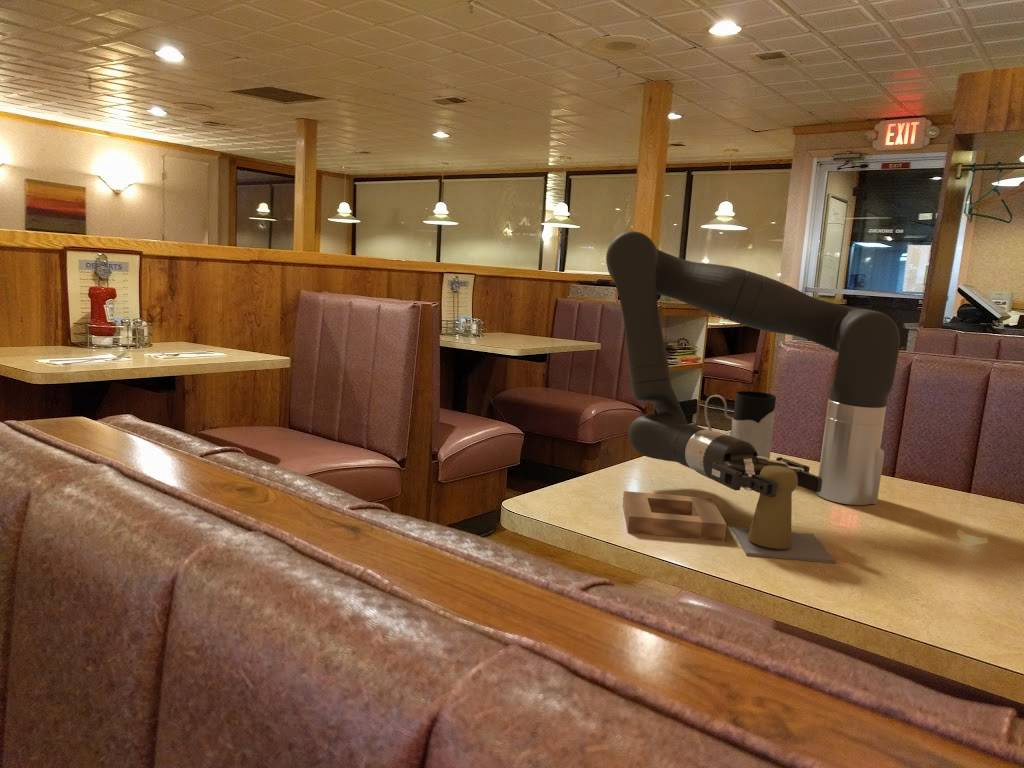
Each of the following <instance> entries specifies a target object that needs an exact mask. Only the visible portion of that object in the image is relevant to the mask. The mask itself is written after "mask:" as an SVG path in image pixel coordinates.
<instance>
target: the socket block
mask: <svg viewBox="0 0 1024 768" xmlns="http://www.w3.org/2000/svg"><path fill="white" fill-rule="evenodd" d="M622 510H623V516H624V519H625V520H624V521H625V525H626V526H625V527H626V530H627V533H632V534H644V535H656V536H664V537H665V536H666V537H678V538H691V539H700V538H701V540H711V539H712V540H713V541H722V540H724V541H723V542H725V541H726V532H727V523H726V521H725V519H724V517H723V515H722V514H721V512H720V511H719V510H720V509H719V508H718V507H717V504H716V502H715V501H714V500H713V498H712V497H711V498H709V497H701V496H687V495H677V494H664V493H663V494H662V493H653V492H652V493H651V492H639V491H630V490H629V491H627V490H624V491H623V498H622Z"/></svg>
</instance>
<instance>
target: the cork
mask: <svg viewBox="0 0 1024 768" xmlns="http://www.w3.org/2000/svg"><path fill="white" fill-rule="evenodd" d="M760 476H762V477H765V478H767V479H770V480H772V481H775V482H776V483H777V490H776V496H775V497H768V496H765V495H763V494H761V493H759V497H758V500H757V503H756V507H755V510H754V513H753V517H752V521H751V524H750V528H749V529H750V531H749V534H748V538H747V539H748V540H749V541H751V542H753V543H755V544H757V545H761V546H764V547H769V548H775V549H788V548H791V532H792V512H793V511H792V509H793V508H792V507H793V506H792V503H793V501H792V497H793V496H792V495H793V494H792V493H793V492H794V491H795V490H796V489H797V487H798V486H797V483H798V477H797V474H796V472H795V471H793V470H792V469H789V468H786V467H783V466H775V465H772V466H765V467H764V468H763V469H762V470H761V472H760Z"/></svg>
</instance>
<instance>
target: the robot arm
mask: <svg viewBox="0 0 1024 768" xmlns="http://www.w3.org/2000/svg"><path fill="white" fill-rule="evenodd" d="M605 256H606V257H605V260H606V261H605V264H606V267H607V271H608V274H609V275H610V277H611V279H612V280H613V282H614V285H615V287H616V291H617V294H618V298H619V302H620V306H621V307H620V308H621V312H622V317H623V324H624V326H623V327H624V333H625V335H624V336H625V346H626V347H625V348H626V356H627V357H626V358H627V364H628V371H629V372H628V373H629V379H630V380H629V381H630V383H631V384H630V385H631V391H632V396H633V397H634V399H635V400H637V401H639V402H648V403H651V404H652V406H653V407H654V409H655V411H656V413H651V414H644V415H640V416H638V417H637V418H635V419H634V420H632V422H631V423H630V426H629V428H628V439H629V442H630V444H631V446H632V447H633V449H634V450H635V451H636V452H637V453H639V454H640V455H642V456H645V457H647V458H651V459H655V460H661V461H666V462H675V463H678V464H679V465H681V466H684V467H687V468H689V469H691V470H693V471H694V472H696V473H698V474H699V475H701V476H704V477H706V478H708V479H710V480H712V481H714V482H717V483H719V484H721V485H723V486H725V487H727V488H729V489H730V490H733V491H736V492H737V491H741V488H743V489H744V490H745V491H747V492H751V491H753V492H756V493H759V494H760V493H761V494H763V495H765V496H768V497H775V496H776V490H777V483H776V482H775V481H772V480H770V479H767V478H765V477H762V476H760V472H761V470H762V469H763V468H764V467H765V466H772V465H775V466H783V467H786V468H789V469H792V470H793V471H795V472H796V474H797V477H798V483H797V486H796V487H800V488H803V489H804V490H807V491H811V492H813V493H816V495H818V496H819V497H821V498H823V499H825V500H827V501H831V502H835V503H839V504H844V505H850V506H851V505H852V506H853V505H854V506H866V505H877V504H878V499H879V498H878V497H879V492H880V487H881V486H880V485H881V479H882V471H883V465H884V459H885V458H884V457H885V451H884V450H883V449H882V448H881V445H882V440H883V438H882V437H883V431H884V424H885V417H886V411H887V410H886V409H887V404H888V398H889V395H890V394H891V391H892V390H893V387H894V381H895V376H896V375H895V374H896V370H897V365H898V359H899V353H900V345H901V334H900V329H899V326H898V325H897V323H896V322H895V321H894V320H893V318H891V317H890V316H889V315H887V314H886V313H883V312H880V311H877V310H872V309H868V308H867V309H866V308H860V307H859V308H858V307H853V306H848V305H845V304H844V305H843V304H838V303H834V302H831V301H827V300H826V301H825V300H822V299H819V298H817V297H814V296H811V295H809V294H807V293H805V292H802V291H801V290H798V289H796V288H795V287H793V286H790V285H788V284H786V283H783V282H781V281H779V280H776V279H774V278H770V277H769V276H766V275H763V274H760V273H757V272H753V271H751V270H746V269H744V268H740V267H734V266H729V265H723V264H715V263H706V262H705V263H704V262H696V261H691V260H687V259H683V258H680V257H678V256H675V255H672V254H669V253H667V252H665V251H663V250H661V249H658V248H657V247H656V244H655V243H654V241H653V240H652V239H651V238H650V237H649V236H648V235H646V233H645V234H644V233H643V232H640V231H634V230H630V231H629V230H628V231H625V232H622V233H620V234H619V235H617V236H616V237H615V238H614V239H613V240H612V241H611V243H610V245H609V246H608V249H607V251H606V255H605ZM657 295H660V296H664V297H668V298H671V299H675V300H676V301H679V302H683V303H685V304H687V305H688V306H689V305H690V306H691V307H694V308H696V309H698V310H701V311H704V312H706V313H709V314H710V315H714V316H717V317H719V318H722V319H725V320H727V321H731V322H733V323H736V324H739V325H742V326H746V327H748V328H752V329H755V330H756V329H757V330H760V331H764V332H765V331H766V332H771V333H776V334H780V335H781V334H783V335H789V336H793V337H798V338H801V339H805V340H808V341H810V342H813V343H816V344H817V345H820V346H822V347H824V348H827V349H830V350H832V351H833V352H835V353H838V355H837V361H836V368H835V373H834V377H833V378H834V379H832V380H833V381H832V383H831V384H830V385H829V386H830V387H829V394H828V401H827V408H826V415H825V423H824V430H823V438H822V446H821V452H820V453H821V454H820V461H819V469H818V475H816V474H812V473H810V469H811V467H810V466H808V465H806V464H802V463H799V462H796V461H793V460H790V459H787V458H784V457H782V456H778V457H775V458H776V459H768V458H767V457H762V456H758V454H757V452H756V450H755V448H754V447H753V446H752V445H751V444H750V443H748V442H746V441H743V440H740V439H737V438H735V437H732V436H730V434H727V433H723V432H720V431H716V430H713V431H710V430H709V429H707V428H704V427H701V426H698V425H695V424H691V423H689V424H688V421H687V420H688V419H687V418H686V416H685V413H684V411H683V410H682V407H681V404H680V403H679V400H678V398H677V395H676V393H675V390H674V388H673V385H672V379H671V374H670V373H671V372H670V366H669V359H668V354H667V353H668V352H667V350H666V345H665V341H664V336H663V335H664V334H663V330H662V326H661V325H662V324H661V320H660V314H659V306H658V296H657Z"/></svg>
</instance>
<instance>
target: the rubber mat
mask: <svg viewBox="0 0 1024 768" xmlns="http://www.w3.org/2000/svg"><path fill="white" fill-rule="evenodd" d="M731 531H732V533H733V534H734V536H735V538H736V540H737V541H738V544H739V545H740V546H742V547H741V548H742V550H743V552H744V554H745V555H746V556H748V557H749V556H751V557H763V558H771V559H772V558H774V559H785V560H797V561H809V562H819V563H821V562H822V563H832V564H836V562H837V560H836V558H835V557H834V556H833V555H832V554H831V553H830V552H829V551H828V549H827V548H826V547H825V545H824V544H823V543H822V542H820V540H819V539H818V538H817V537H816V535H814V533H803V532H793V531H791V548H788V549H775V548H769V547H764V546H761V545H757V544H755V543H753V542H751V541H749V540H748V539H747V538H748V534H749V531H750V528H746V527H745V528H744V527H733V526H731Z"/></svg>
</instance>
